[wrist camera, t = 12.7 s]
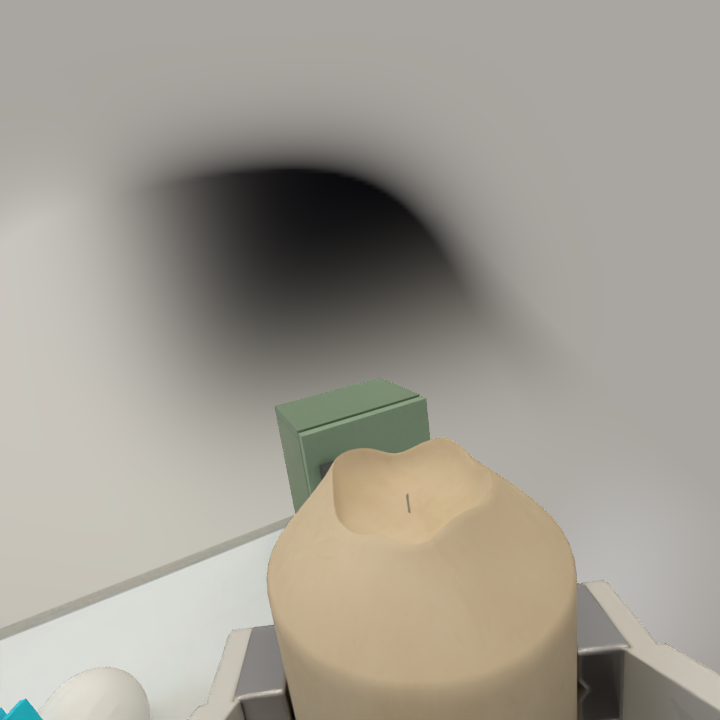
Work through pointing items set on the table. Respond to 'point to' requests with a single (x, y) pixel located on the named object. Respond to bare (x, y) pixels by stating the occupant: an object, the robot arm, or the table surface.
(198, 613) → the table surface
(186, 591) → the table surface
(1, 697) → the table surface
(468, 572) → the candle
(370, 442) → the door
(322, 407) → the cabinet
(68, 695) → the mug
